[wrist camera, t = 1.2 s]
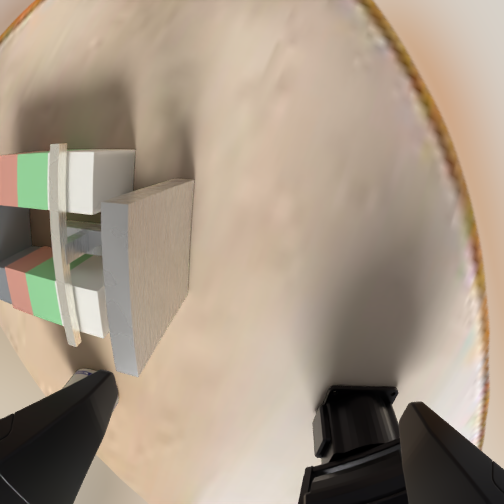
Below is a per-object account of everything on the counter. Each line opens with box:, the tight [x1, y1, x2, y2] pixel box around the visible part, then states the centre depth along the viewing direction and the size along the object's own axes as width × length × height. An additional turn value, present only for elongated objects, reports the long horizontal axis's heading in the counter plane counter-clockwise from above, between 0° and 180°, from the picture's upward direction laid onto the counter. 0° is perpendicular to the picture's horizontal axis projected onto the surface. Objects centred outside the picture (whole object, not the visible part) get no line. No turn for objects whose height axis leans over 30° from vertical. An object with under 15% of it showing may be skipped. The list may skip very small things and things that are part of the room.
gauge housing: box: [0, 149, 135, 338], centre depth 18 cm, size 12×11×5 cm
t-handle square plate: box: [49, 143, 194, 377], centre depth 16 cm, size 9×12×9 cm
